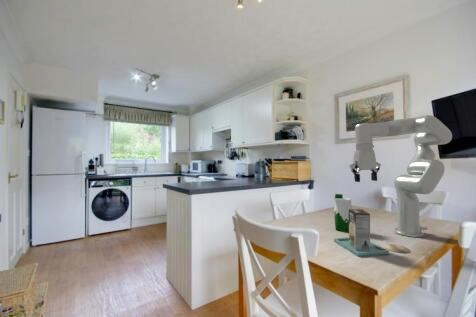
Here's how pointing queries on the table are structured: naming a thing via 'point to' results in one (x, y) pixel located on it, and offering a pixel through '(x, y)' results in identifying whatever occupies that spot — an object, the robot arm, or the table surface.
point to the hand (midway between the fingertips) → (365, 181)
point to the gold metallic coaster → (396, 248)
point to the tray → (373, 251)
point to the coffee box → (359, 229)
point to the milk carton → (342, 212)
